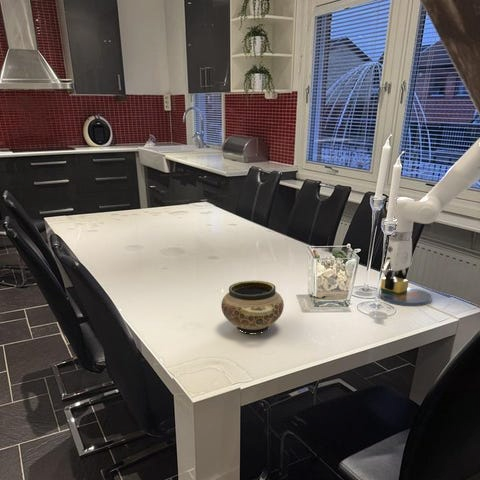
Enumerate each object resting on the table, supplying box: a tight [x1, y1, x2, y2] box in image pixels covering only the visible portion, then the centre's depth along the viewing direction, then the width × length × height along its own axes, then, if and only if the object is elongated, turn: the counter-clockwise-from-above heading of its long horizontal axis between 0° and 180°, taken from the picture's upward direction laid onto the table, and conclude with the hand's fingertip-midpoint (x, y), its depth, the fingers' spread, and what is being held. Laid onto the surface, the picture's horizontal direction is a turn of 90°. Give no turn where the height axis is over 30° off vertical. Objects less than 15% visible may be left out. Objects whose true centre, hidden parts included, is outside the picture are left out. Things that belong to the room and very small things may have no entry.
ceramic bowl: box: [220, 280, 285, 334], centre depth 135 cm, size 24×18×15 cm
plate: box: [379, 287, 433, 307], centre depth 161 cm, size 17×17×1 cm
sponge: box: [380, 276, 409, 295], centre depth 163 cm, size 8×5×4 cm, turn 38°
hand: (393, 286), depth 164 cm, fingers closed on sponge, 5 cm apart
